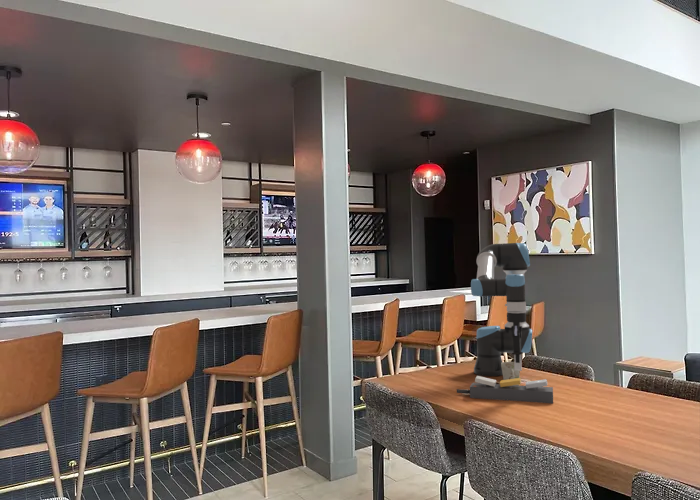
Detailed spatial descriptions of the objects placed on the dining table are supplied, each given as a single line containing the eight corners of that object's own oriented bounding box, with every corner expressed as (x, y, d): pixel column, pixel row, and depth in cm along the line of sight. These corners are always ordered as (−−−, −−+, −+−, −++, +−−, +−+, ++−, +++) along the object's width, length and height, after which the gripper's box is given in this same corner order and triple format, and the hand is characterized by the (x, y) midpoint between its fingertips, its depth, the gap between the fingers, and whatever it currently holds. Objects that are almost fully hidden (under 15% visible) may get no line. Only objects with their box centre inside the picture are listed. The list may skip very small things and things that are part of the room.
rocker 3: (527, 385, 216) (526, 381, 216) (547, 383, 213) (546, 379, 213) (526, 388, 211) (525, 384, 211) (547, 385, 208) (546, 381, 208)
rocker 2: (501, 384, 219) (500, 380, 220) (521, 381, 217) (520, 377, 217) (500, 387, 215) (499, 383, 215) (520, 384, 212) (519, 380, 212)
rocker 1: (476, 379, 223) (477, 375, 223) (495, 383, 220) (496, 380, 220) (474, 381, 218) (475, 378, 218) (494, 386, 216) (495, 382, 216)
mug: (518, 383, 240) (518, 361, 241) (525, 390, 228) (524, 367, 228) (500, 383, 241) (499, 361, 241) (505, 390, 229) (504, 367, 229)
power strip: (458, 392, 227) (458, 379, 227) (553, 398, 213) (552, 385, 214) (455, 396, 220) (455, 383, 220) (553, 403, 206) (552, 389, 206)
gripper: (508, 310, 223) (509, 366, 222) (505, 313, 211) (507, 373, 210) (526, 310, 220) (528, 367, 219) (524, 313, 208) (526, 374, 207)
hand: (518, 370), depth 215 cm, fingers closed
